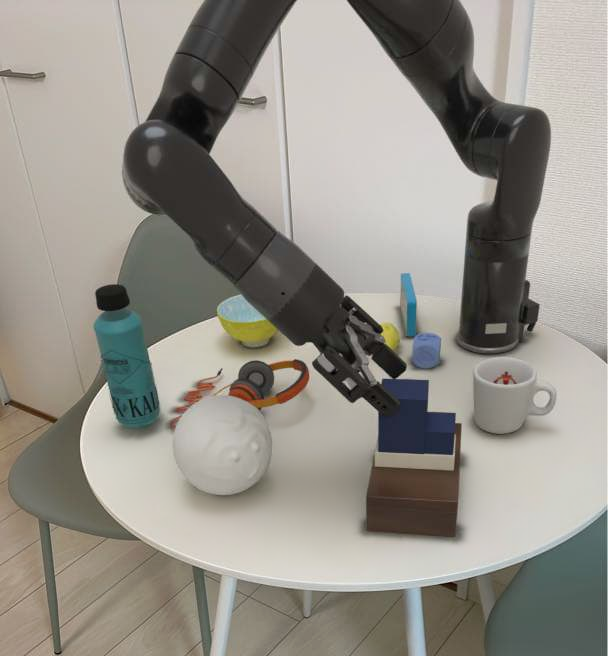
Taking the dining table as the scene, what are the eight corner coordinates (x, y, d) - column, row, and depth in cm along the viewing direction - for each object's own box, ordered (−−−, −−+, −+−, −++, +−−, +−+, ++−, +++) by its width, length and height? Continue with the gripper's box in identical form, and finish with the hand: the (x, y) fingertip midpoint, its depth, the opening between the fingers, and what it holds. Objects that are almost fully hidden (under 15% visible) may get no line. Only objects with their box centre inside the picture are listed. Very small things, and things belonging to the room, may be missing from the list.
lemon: (370, 360, 117) (370, 337, 115) (376, 338, 123) (376, 315, 121) (397, 361, 117) (397, 338, 114) (402, 338, 123) (402, 315, 120)
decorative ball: (213, 528, 88) (197, 442, 81) (165, 482, 96) (146, 400, 88) (295, 488, 93) (288, 404, 86) (243, 448, 101) (232, 367, 93)
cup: (553, 415, 102) (563, 361, 97) (547, 446, 97) (557, 391, 91) (473, 405, 105) (478, 353, 100) (463, 436, 100) (468, 382, 95)
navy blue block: (374, 466, 87) (374, 398, 81) (378, 444, 91) (378, 377, 85) (453, 471, 86) (459, 401, 80) (454, 448, 89) (460, 380, 83)
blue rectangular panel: (400, 307, 132) (400, 272, 128) (408, 306, 132) (409, 272, 128) (406, 337, 123) (407, 301, 119) (415, 337, 123) (416, 300, 119)
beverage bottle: (120, 415, 110) (86, 280, 97) (165, 411, 110) (137, 276, 97) (115, 439, 105) (78, 301, 92) (163, 435, 105) (133, 296, 92)
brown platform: (380, 452, 98) (380, 419, 95) (458, 456, 96) (461, 423, 93) (366, 531, 86) (365, 496, 83) (455, 537, 84) (458, 501, 81)
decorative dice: (438, 369, 114) (439, 344, 111) (411, 368, 115) (412, 343, 112) (440, 356, 117) (441, 332, 114) (414, 356, 118) (415, 332, 115)
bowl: (207, 349, 124) (202, 313, 120) (247, 322, 131) (243, 287, 127) (264, 363, 119) (260, 326, 115) (302, 333, 126) (300, 298, 122)
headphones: (169, 445, 107) (300, 425, 100) (154, 413, 104) (288, 390, 97) (204, 387, 120) (323, 366, 113) (192, 357, 116) (313, 334, 110)
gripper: (299, 292, 70) (419, 404, 75) (323, 238, 80) (427, 340, 86) (250, 343, 74) (367, 446, 80) (279, 286, 85) (380, 380, 90)
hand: (398, 391), depth 83 cm, fingers open, 8 cm apart
